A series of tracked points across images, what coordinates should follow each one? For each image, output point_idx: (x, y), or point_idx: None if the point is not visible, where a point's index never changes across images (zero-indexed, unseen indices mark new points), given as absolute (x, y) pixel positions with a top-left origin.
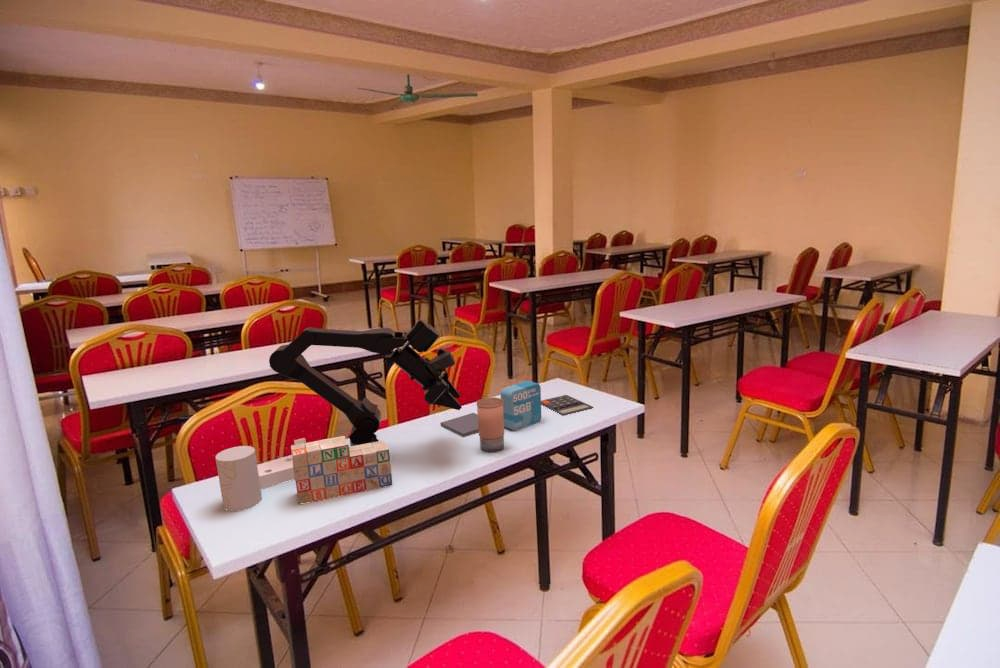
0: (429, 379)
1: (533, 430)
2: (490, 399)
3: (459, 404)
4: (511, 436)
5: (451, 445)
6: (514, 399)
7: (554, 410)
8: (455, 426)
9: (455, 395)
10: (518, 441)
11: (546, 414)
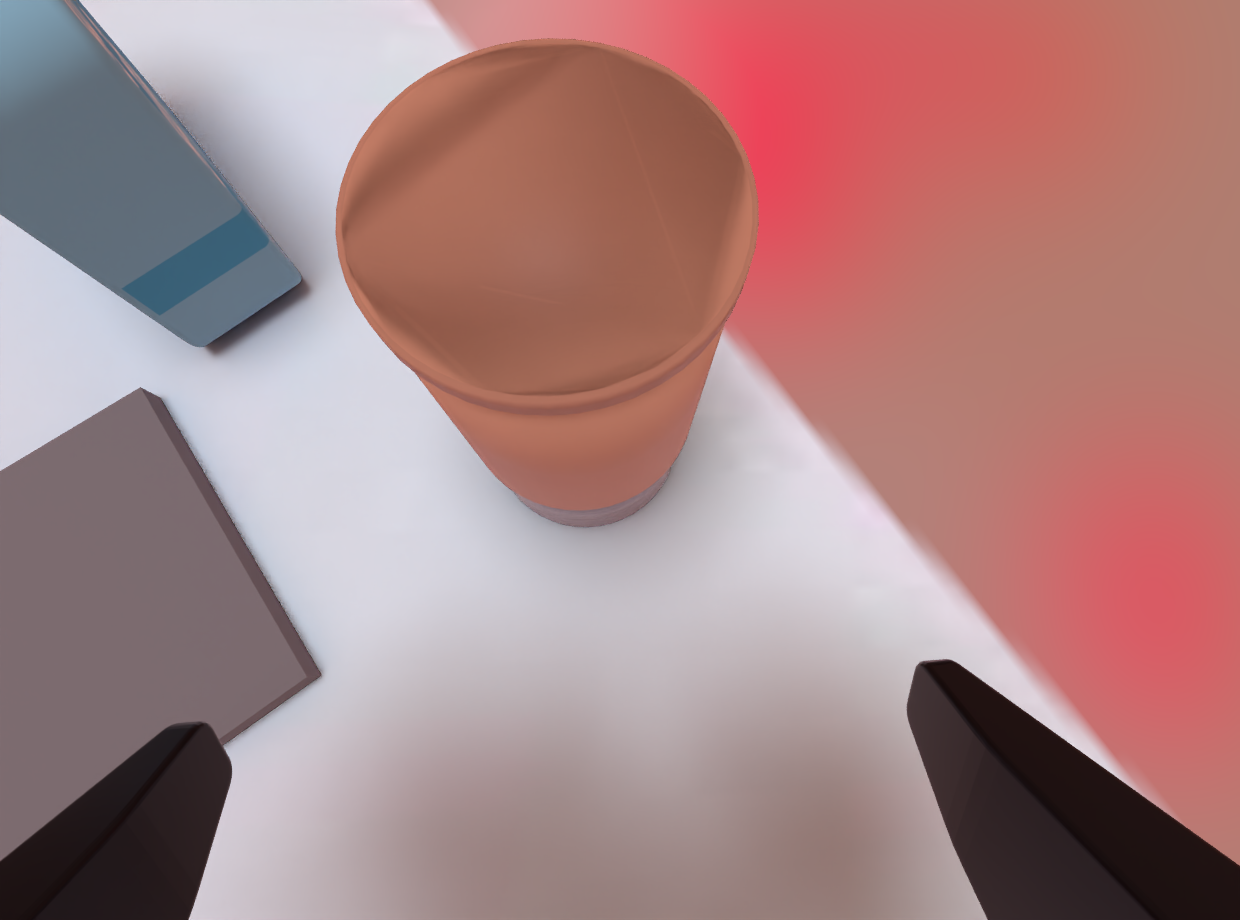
0: None
1: (324, 161)
2: (437, 195)
3: (1007, 707)
4: None
5: (480, 777)
6: (115, 60)
7: None
8: (99, 762)
9: (183, 843)
10: None
11: None
